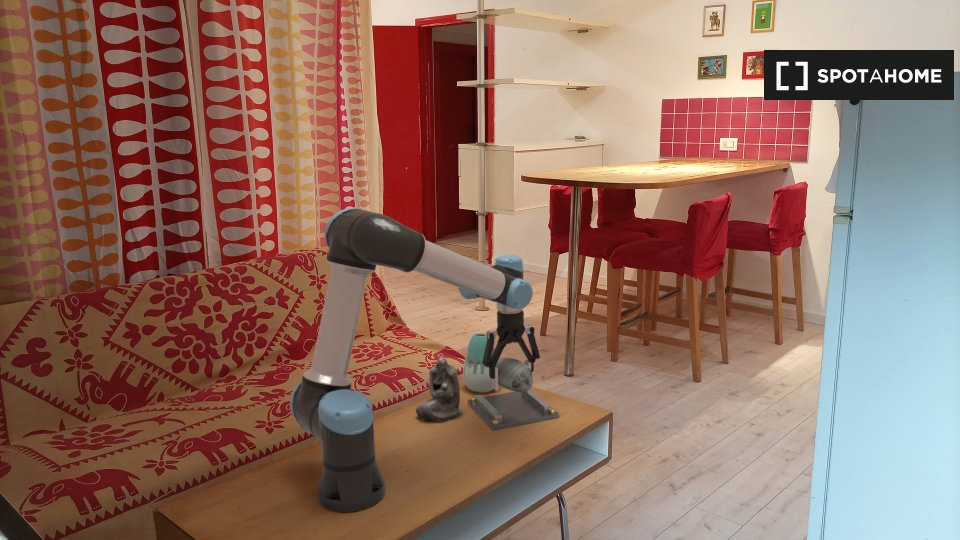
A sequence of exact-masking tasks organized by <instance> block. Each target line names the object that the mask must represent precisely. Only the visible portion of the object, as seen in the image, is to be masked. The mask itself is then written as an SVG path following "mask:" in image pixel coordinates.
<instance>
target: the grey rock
mask: <svg viewBox="0 0 960 540" xmlns="http://www.w3.org/2000/svg"><path fill="white" fill-rule="evenodd" d="M496 367H497V368H498V387H501V388H503V389H506V390H509V391H511V392H514V391H515V392H527V391H529V390H530V389H531V388H532V386H533V384H534V383H533V382H534V379H533V372H531V370H530V368H529V367H528V366H527V365H526V364H525V362H523V361H521V360H518V359H517V358H512V357H500V358H499V360H498V362H497V364H496Z"/></svg>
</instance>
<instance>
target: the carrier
mask: <svg viewBox="0 0 960 540" xmlns="http://www.w3.org/2000/svg"><path fill="white" fill-rule="evenodd" d="M467 405H468V406H470V407H471V409H472V410H473V411H474V412H475V413H476V414H477V416H479V418H481V419H482V420H483V421H484V422H485V424H486V425H487V426H488V427H489V428H490V429H491V430H492V431H497V430H501V429H508V428H512V427H517V426H518V427H519V426H523V425H528V424H531V423H533V422H534V423H539V422H543V421H549V420H553V419H558V418H560V413H559V412H558V411H557V409H556V408H554V407H552V405H551V404H549V403H548V402H547V401H546V400H545V399H543V398H542V397H541V396H539V394H537V393H536V392H535V391H533V390H532V389H531V388H530V390H529V391H527V392H515V391H511V392H504V393H498V394H493V395H488V396H483V395H482V394H477V395H476V394H475V395H474V396H471V397H469V399H467Z"/></svg>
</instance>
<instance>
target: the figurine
mask: <svg viewBox="0 0 960 540" xmlns="http://www.w3.org/2000/svg"><path fill="white" fill-rule="evenodd" d="M428 374H429V376H428V377H429V379H428V380H429V381H428V382H429V389H428V390H429V394H430V396H431V397H432V398H429V399H426V400H423V401H422V402H421V403H419V404H418V405H417V406H416V408H415V413H416V416H417V418H418V419H420V420H423V421H424V422H429V423H431V422H432V423H445V422H448V421H449V420H453V419H456V418H459V417H460V416H461V415H463V412H462V410H461V409H459V408H460V402H461V396H460V395H461V394H460V393H461V389H460V380H459V376H458V375H459V373H458V369H456V367H455V366H453V365H451V364H449V363H448V361H447V358H446V357H444V356H441V357H439V358H438V359H437V361H435V364H434V366H432V367H431V368H430V370H429V373H428Z"/></svg>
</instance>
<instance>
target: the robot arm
mask: <svg viewBox="0 0 960 540" xmlns="http://www.w3.org/2000/svg"><path fill="white" fill-rule="evenodd" d="M323 236H324V240H325V244H326V245H327V247H328V252H327V256H326V263H327V264H328V266H329V268H330V275H329V279H328V285H327V289H326V295H325V298H324V299H325V300H324V303H323V309H322V314H321V317H320V318H321V319H320V324H319V330H318V333H317V339H316V343H315V348H314V353H313V358H312V361H311V367H310V368H309V369H307V370H306V371H304V372H303V374H302V379H301V381H300V382H299V384H298V385H296V386H295V387H294V388H293V390H292V393H291V395H290V397H289V408H290V409H289V410H290V412H291V415H292V417H293V418H294V420H295V421H296V423H297V424H299V426H300V427H302V428H303V429H304V430H306V431H308V432H309V433H310V434H311V435H312V436H314V437H315V438H316V439H317V440H318V441H320V443H321V453H322V462H323V463H322V464H323V468H322V470H321V475H320V479H319V482H318V486H317V501H318V503H319V504H320V506H321V507H323V508H325V509H327V510H329V511H331V512H340V513H350V512H358V511H362V510H366V509H368V508H371V507H372V506H375V505H376V504H378V503H379V502H380V501H381V500H382V499H384V496H385V494H386V482H385V479H384V476H383V475H382V472H381V470H380V468H379V464H378V462H377V461H376V460H377V459H376V445H375V430H374V429H375V426H374V410H373V405H372V402H371V400H370V398H369V396H367V395H366V394H365V393H363V392H361V391H358V390H351V389H352V384H353V383H352V382H353V380H352V379H351V378H350V376H349V374H348V372H349V371H348V370H349V366H350V362H351V357H352V353H353V352H352V351H353V347H354V343H355V338H356V337H355V336H356V333H357V328H358V323H359V318H360V314H361V309H362V304H363V299H364V294H365V291H366V285H367V282H368V277H369V276H370V275H371V274H374V272H375V271H376V268H377V266H380V267H381V266H382V267H385V268H389V269H395V270H398V271H400V272H404V273H406V274H407V273H408V274H409V273H412V272H416V273H419V274H421V275H425V276H427V277H429V278H433V279H435V280H437V281H440V282H443V283H445V284H448V285H451V286H453V287H456V288H457V289H458V291H459V294H460V295H461V296H462V298H464V299H465V300H476V299H478V298H481V299H484V300H487V301H491V302H494V303H496V310H497V311H496V322H497V324H496V325H497V327H496V329H495V330H494V331H493V330H492V331H490V330H488V331H486V334H487V343H486V348H485V352H484V357H483V361H482V364H483V365H484V366H485V367H489V377H490V378H491V379H492V387H493V388H494V389H493V390H495V391H499V385H498V368H497V367H496V364H497V362H498V360H499V359H500V358H501V356H502V353H503V351H504V349H505V348H506V347H507V345H508V344H509V345H510V344H512V343H514V344H515V343H517V344H518V345H519V347H520V349H521V351H522V352H523V354H524V356H525V357H526V359H524V363H525V364H526V365H527V366H528V367H529V368H530V370H531V372H532V373H533V372H534V368H535V367H534V365H535V364H534V363H536V361H537V360H539V359H540V358H541V355H540V352H539V348H538V344H537V341H536V340H537V339H536V336H535V327H534V326H532V325H531V324H528V325H527V326H525V311H524V309H525V308H526V307H528V306H529V304H530V303H531V300H532V299H533V296H534V295H533V294H534V293H533V287H532V285H531V284H530V282H529V281H526V280H524V265H523V259H522V258H521V256H519V255H516V254H515V255H514V254H502V255H499V256H497V257H496V258H495V263H494V264H495V265H493V266H488V265H486V264H484V263H481V262H479V261H477V260H474V259H471V258H469V257H467V256H464V255H462V254H460V253H457V252H455V251H453V250H451V249H448V248H445V247H443V246H441V245H438V244H437V243H433V242H431V241H429V240H426V237H425V236H424V234H423V233H421V232H419V231H416V230H414V229H413V228H410V227H408V226H406V225H405V224H402V223H400V222H399V221H397V220H396V219H394V218H391V217H390V216H387V215H386V214H382V213H380V212H379V213H378V212H372V211H367V210H364V209H361V208H346V209H345V208H344V209H342V210H338V212H336V213H334V214H333V215H332V216H331V217H330V218H329V220H328V221H327V223H326V225H325V229H324V235H323ZM524 333H526V336H527V339H528V343H529V344H528V345H529V346H530V350H531V351H530V350H529V347H528V346H527V344H526V343H525V340H524V339H523V335H524ZM497 336H498V338H497ZM496 338H497V339H498V340H497V341H496V342H497V344H496V345H495V340H496ZM493 346H494V352H493V354H492V351H493ZM491 355H492V356H491Z"/></svg>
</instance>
